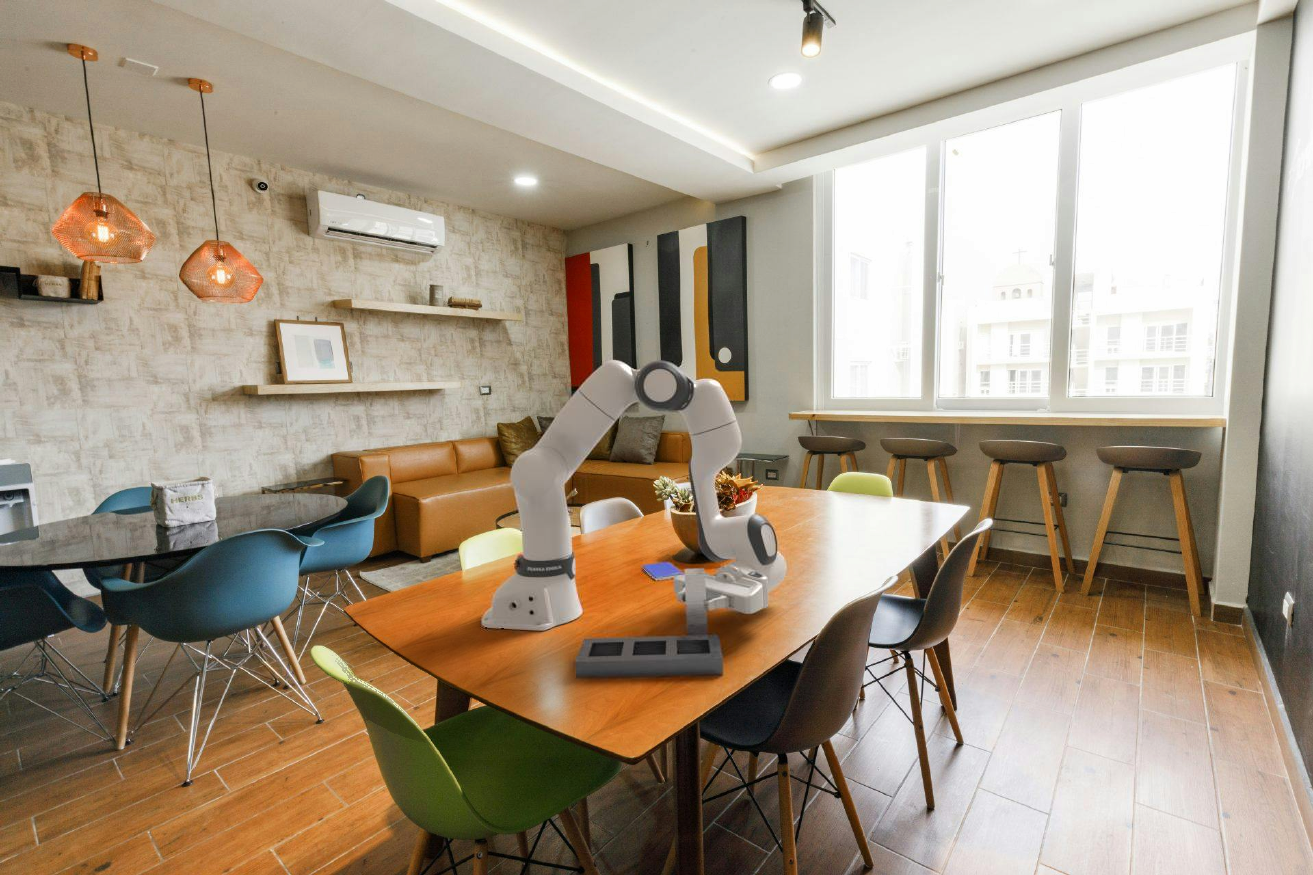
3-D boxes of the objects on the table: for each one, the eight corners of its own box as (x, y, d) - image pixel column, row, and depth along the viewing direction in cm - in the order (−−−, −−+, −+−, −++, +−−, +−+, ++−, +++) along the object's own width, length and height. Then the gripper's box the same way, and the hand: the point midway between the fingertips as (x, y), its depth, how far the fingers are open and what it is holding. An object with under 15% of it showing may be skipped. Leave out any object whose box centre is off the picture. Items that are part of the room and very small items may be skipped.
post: (687, 644, 117) (684, 574, 116) (687, 636, 121) (684, 568, 120) (707, 643, 116) (705, 574, 115) (706, 635, 120) (704, 568, 119)
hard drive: (684, 572, 160) (668, 561, 172) (655, 577, 157) (641, 565, 169) (684, 578, 160) (668, 566, 172) (656, 582, 157) (642, 570, 169)
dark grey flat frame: (575, 678, 104) (575, 661, 104) (584, 653, 114) (583, 638, 114) (723, 674, 103) (722, 658, 103) (719, 649, 113) (718, 634, 113)
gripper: (697, 561, 134) (654, 576, 124) (774, 578, 120) (733, 596, 110) (698, 588, 135) (656, 606, 125) (774, 608, 120) (734, 629, 110)
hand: (692, 602), depth 117 cm, fingers closed on post, 6 cm apart
